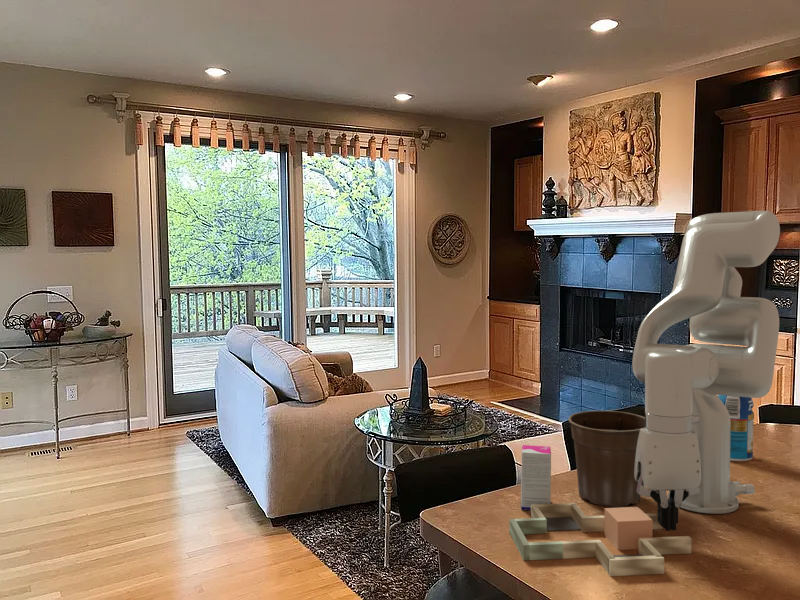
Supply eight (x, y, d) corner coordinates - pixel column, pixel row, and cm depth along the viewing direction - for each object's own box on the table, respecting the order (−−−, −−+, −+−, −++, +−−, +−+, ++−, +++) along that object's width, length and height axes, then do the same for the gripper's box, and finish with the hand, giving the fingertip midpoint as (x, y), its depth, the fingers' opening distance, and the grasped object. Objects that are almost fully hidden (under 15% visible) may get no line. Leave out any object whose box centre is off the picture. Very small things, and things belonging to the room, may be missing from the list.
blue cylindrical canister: (706, 454, 163) (707, 373, 162) (734, 450, 166) (735, 371, 164) (733, 464, 155) (734, 379, 154) (761, 460, 157) (763, 376, 156)
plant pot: (659, 514, 126) (659, 430, 125) (572, 510, 129) (571, 428, 128) (643, 485, 142) (643, 411, 141) (566, 482, 145) (565, 409, 144)
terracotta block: (637, 534, 118) (637, 506, 117) (652, 548, 112) (652, 520, 111) (604, 535, 117) (604, 508, 117) (617, 550, 111) (617, 521, 111)
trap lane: (647, 512, 127) (647, 500, 127) (711, 571, 103) (711, 556, 103) (502, 518, 126) (502, 505, 125) (533, 579, 102) (533, 563, 101)
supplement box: (551, 511, 128) (551, 453, 128) (520, 510, 130) (520, 452, 129) (550, 501, 134) (550, 445, 133) (521, 499, 135) (520, 444, 135)
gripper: (699, 416, 118) (698, 517, 119) (617, 419, 117) (617, 521, 118) (722, 427, 110) (721, 535, 111) (634, 429, 109) (634, 538, 110)
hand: (667, 527), depth 114 cm, fingers closed
